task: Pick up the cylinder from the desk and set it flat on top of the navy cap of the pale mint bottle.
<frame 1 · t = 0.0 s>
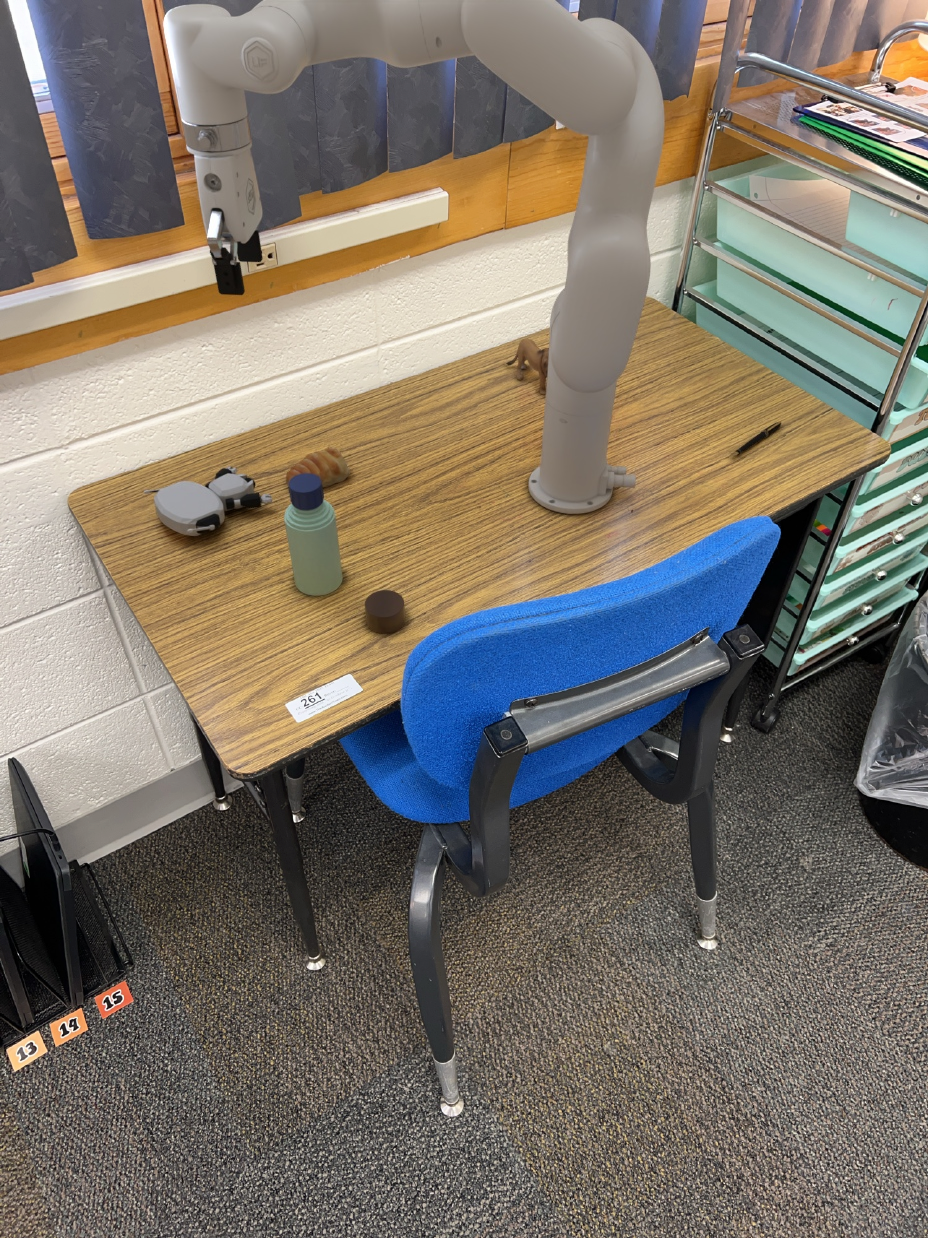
hand: (241, 276, 118), 31 cm above the table, tool pointing down, fingers open, 9 cm apart
cylinder: (385, 620, 118), on the table
bottle: (318, 579, 123), on the table
lion figurine: (539, 383, 160), on the table
robot toy: (213, 514, 133), on the table
fountain pen: (755, 443, 147), on the table
cap: (305, 485, 112), point 16 cm above the table, screwed on, not yet turned
pastry: (320, 478, 140), on the table
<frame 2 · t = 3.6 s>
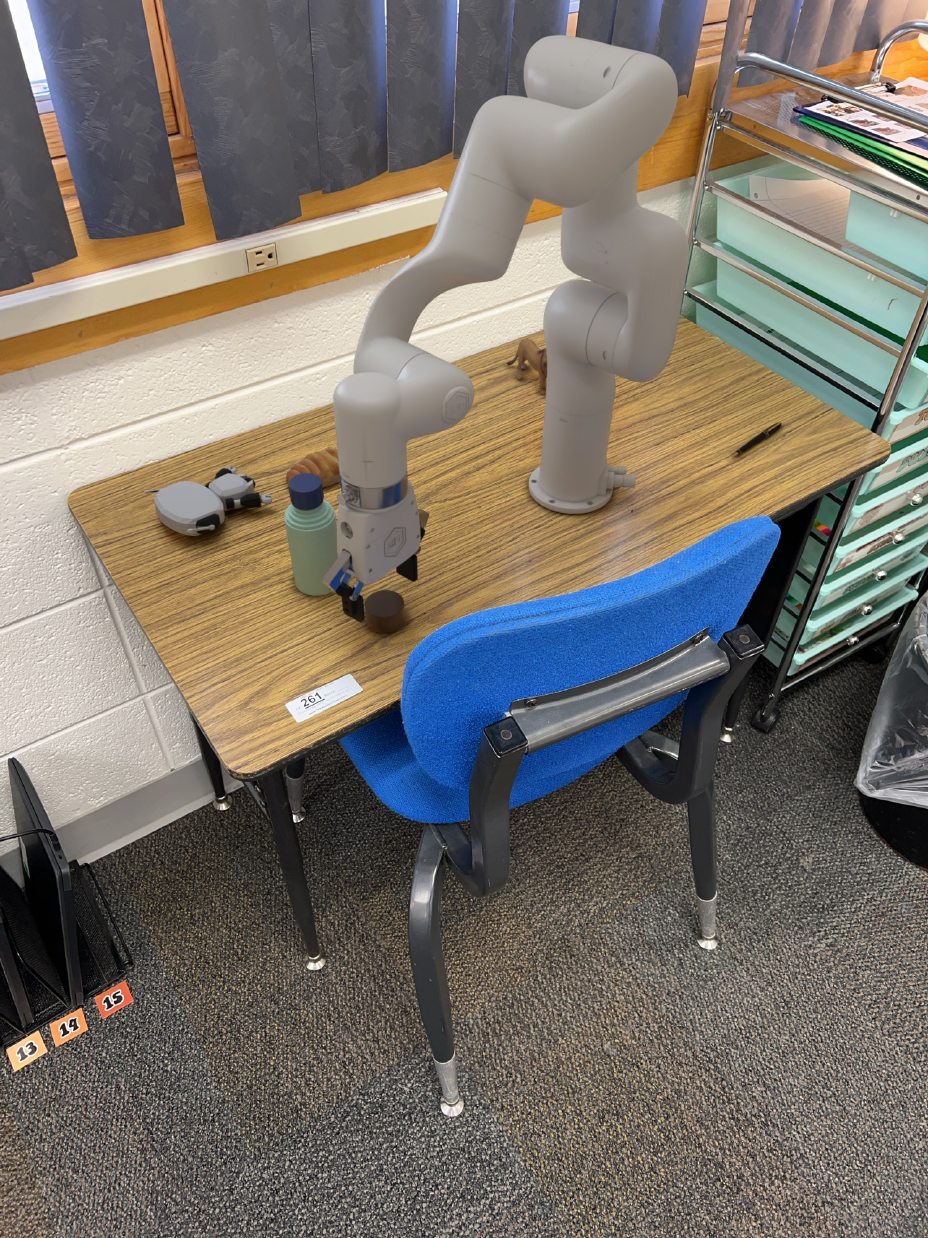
hand: (381, 596, 114), 5 cm above the table, tool pointing down, fingers open, 9 cm apart
nothing on the table moved.
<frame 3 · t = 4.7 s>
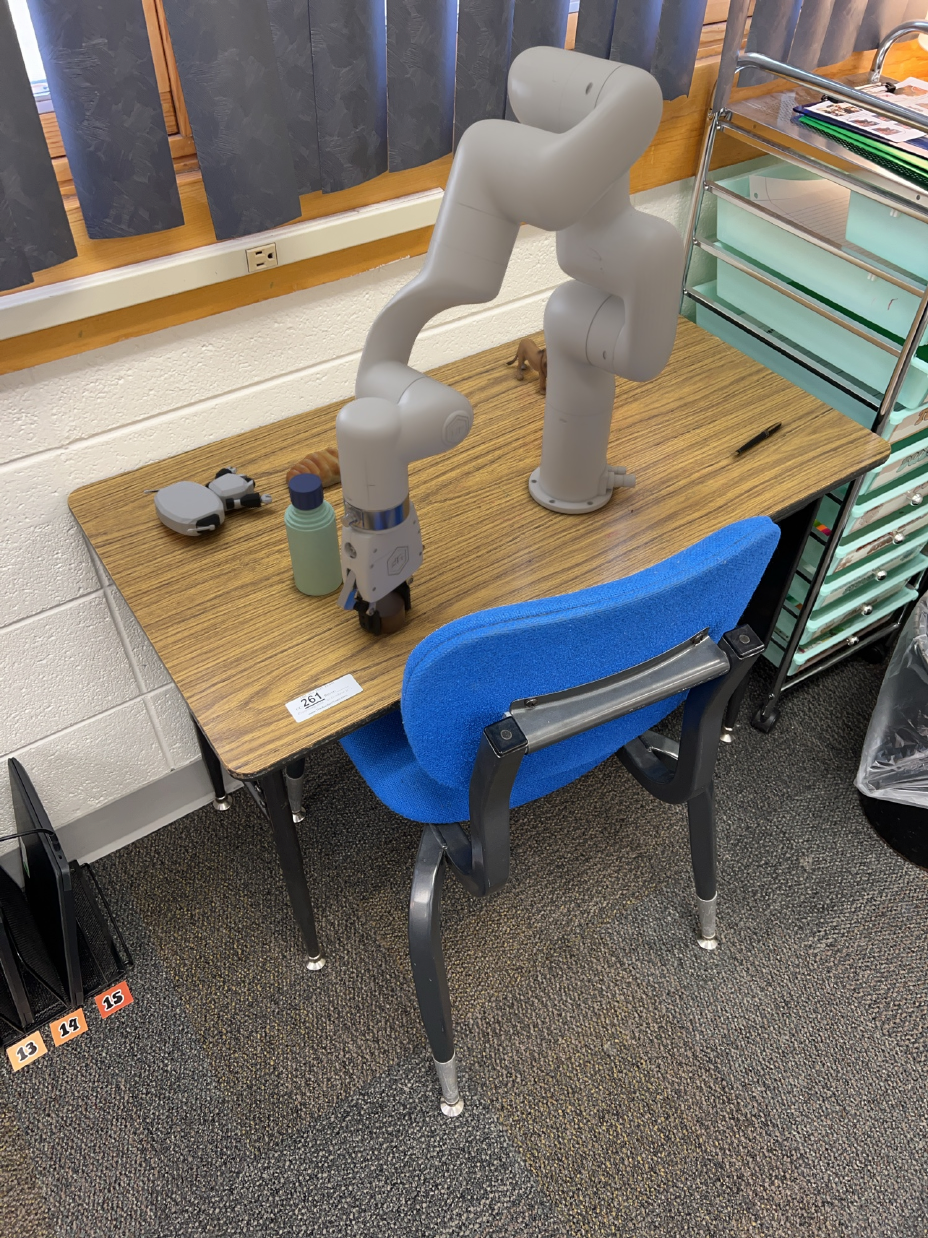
hand: (385, 616, 117), 1 cm above the table, tool pointing down, fingers closed on cylinder, 5 cm apart
cylinder: (385, 620, 118), on the table, touching gripper
everything else where it was.
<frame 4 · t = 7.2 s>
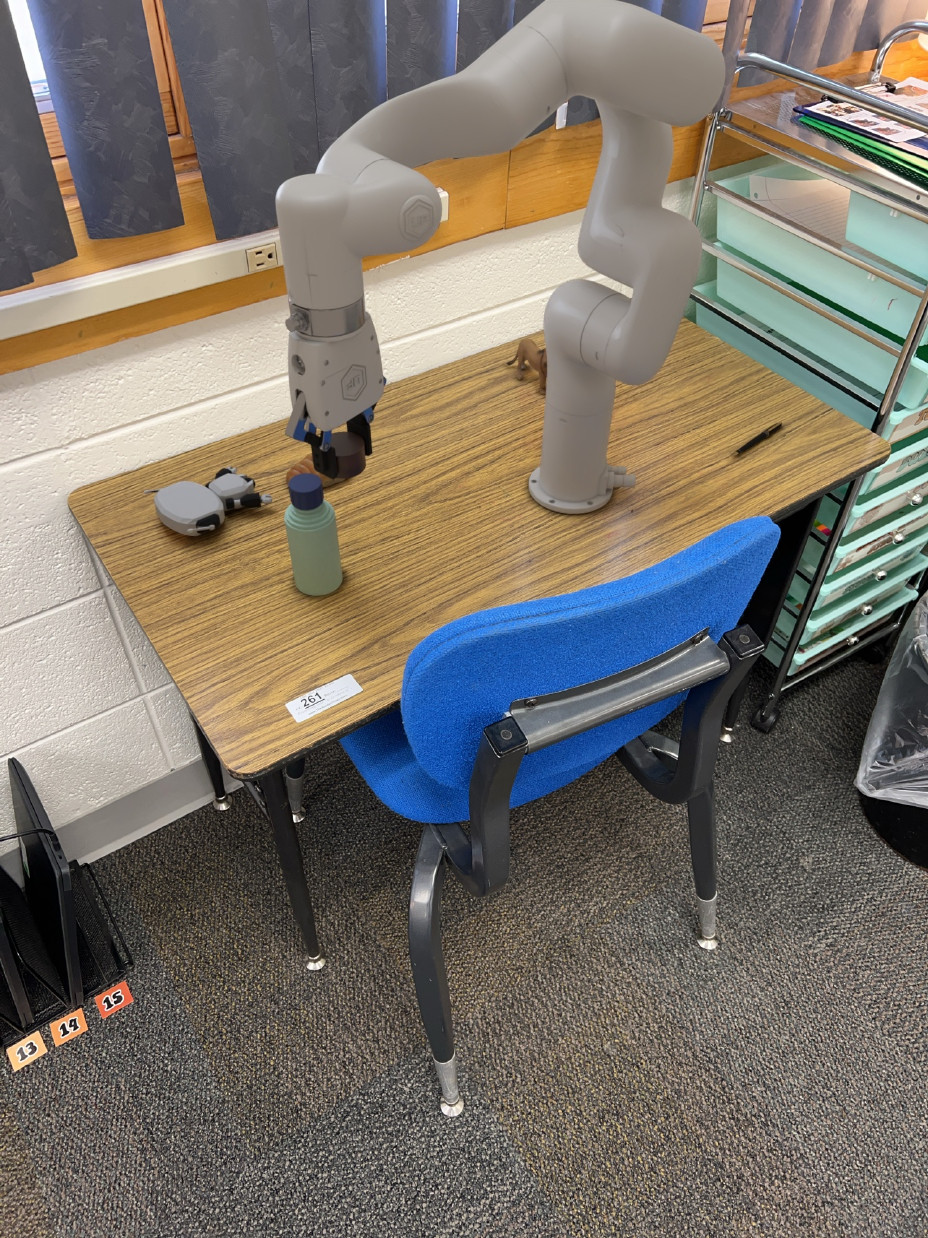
hand: (343, 461, 104), 22 cm above the table, tool pointing down, fingers closed on cylinder, 5 cm apart
cylinder: (344, 465, 105), point 22 cm above the table, touching gripper
everything else where it was.
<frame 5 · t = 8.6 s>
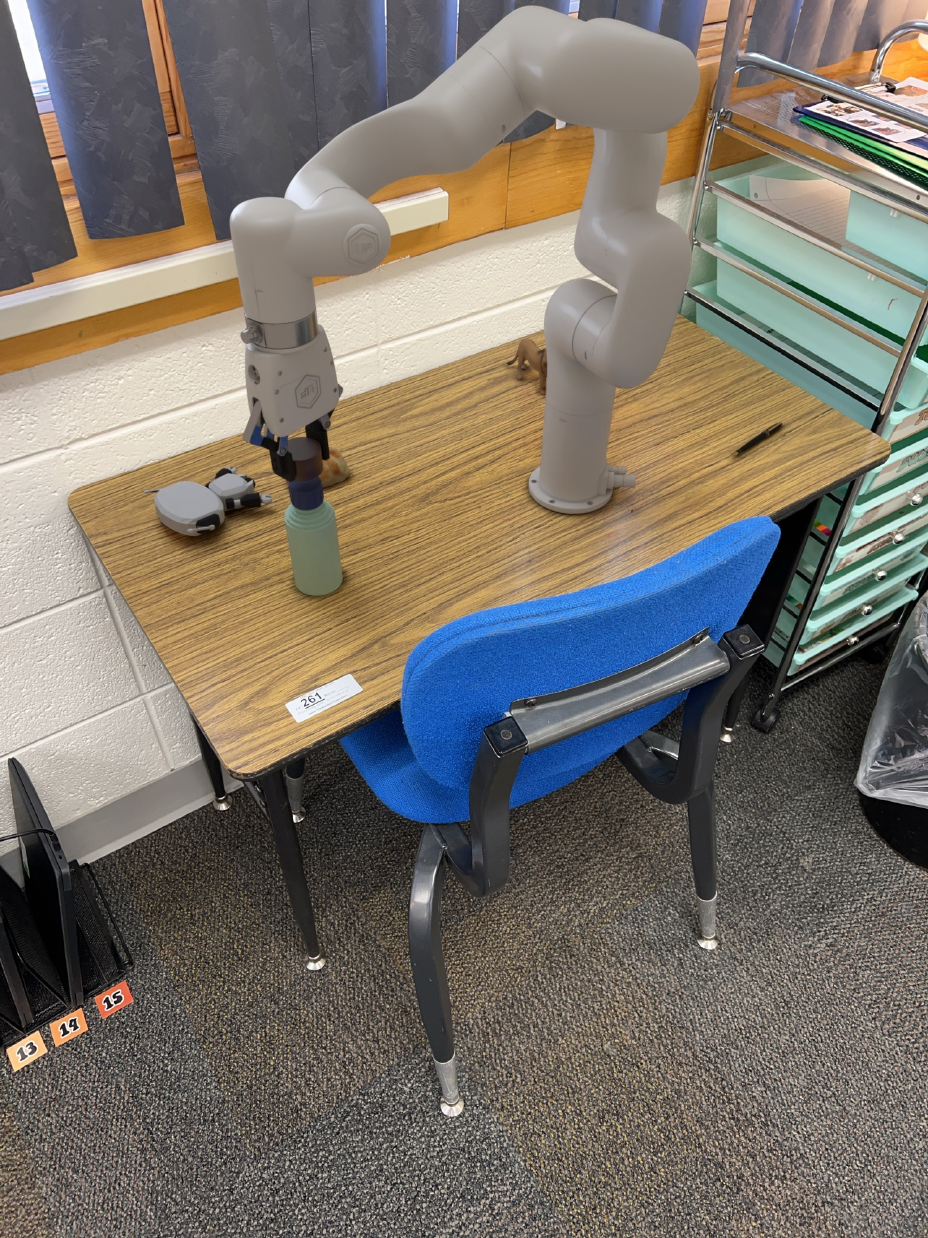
hand: (302, 464, 110), 19 cm above the table, tool pointing down, fingers closed on cylinder, 5 cm apart
cylinder: (302, 469, 111), point 18 cm above the table, touching gripper
everything else where it was.
when the fingers open (17 cm above the table, at t = 9.7 s): cylinder stays where it is, resting on cap.
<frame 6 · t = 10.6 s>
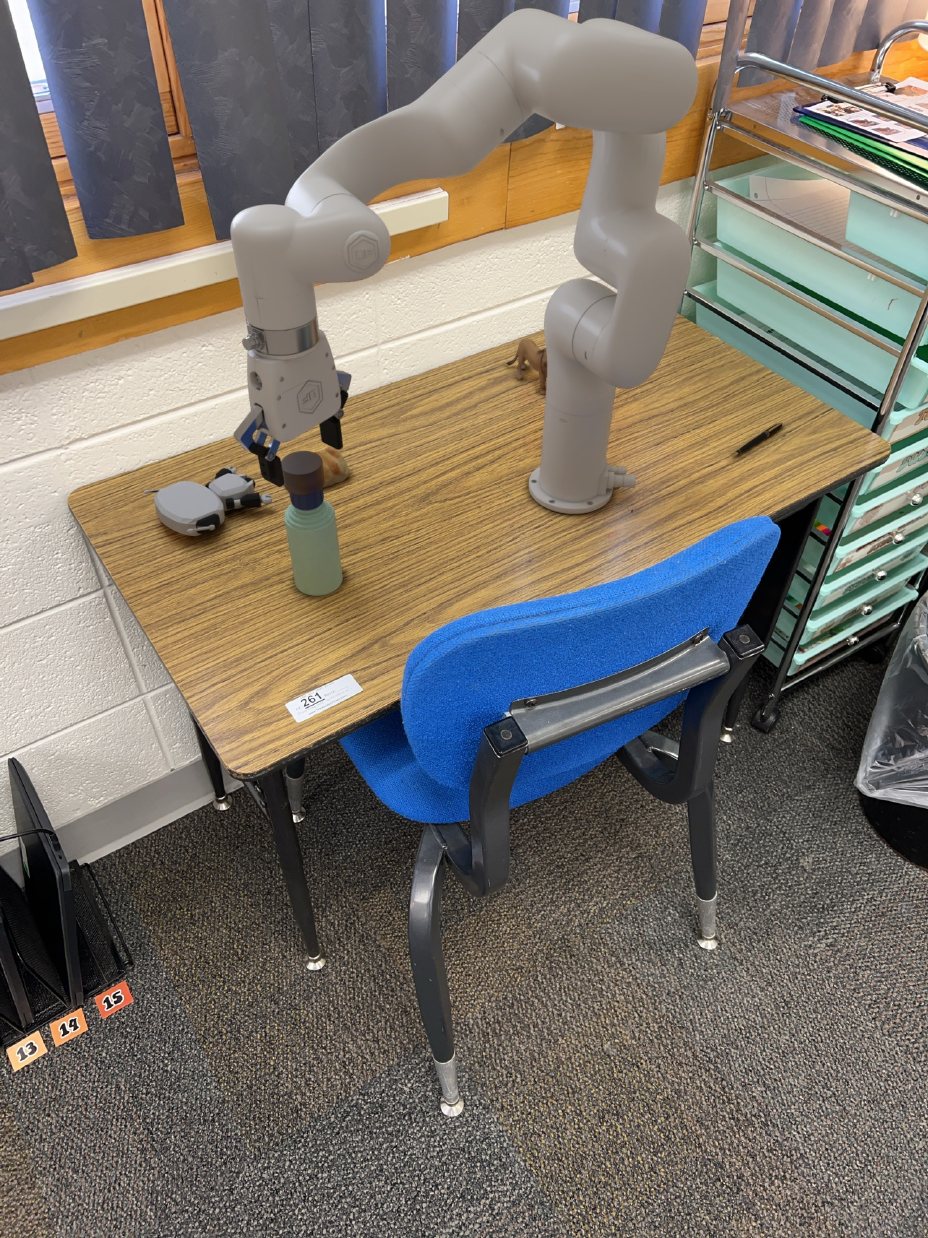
hand: (303, 463, 110), 19 cm above the table, tool pointing down, fingers open, 9 cm apart
cylinder: (304, 482, 112), point 16 cm above the table, touching cap
cap: (305, 485, 112), point 16 cm above the table, screwed on, not yet turned, touching cylinder
everything else where it was.
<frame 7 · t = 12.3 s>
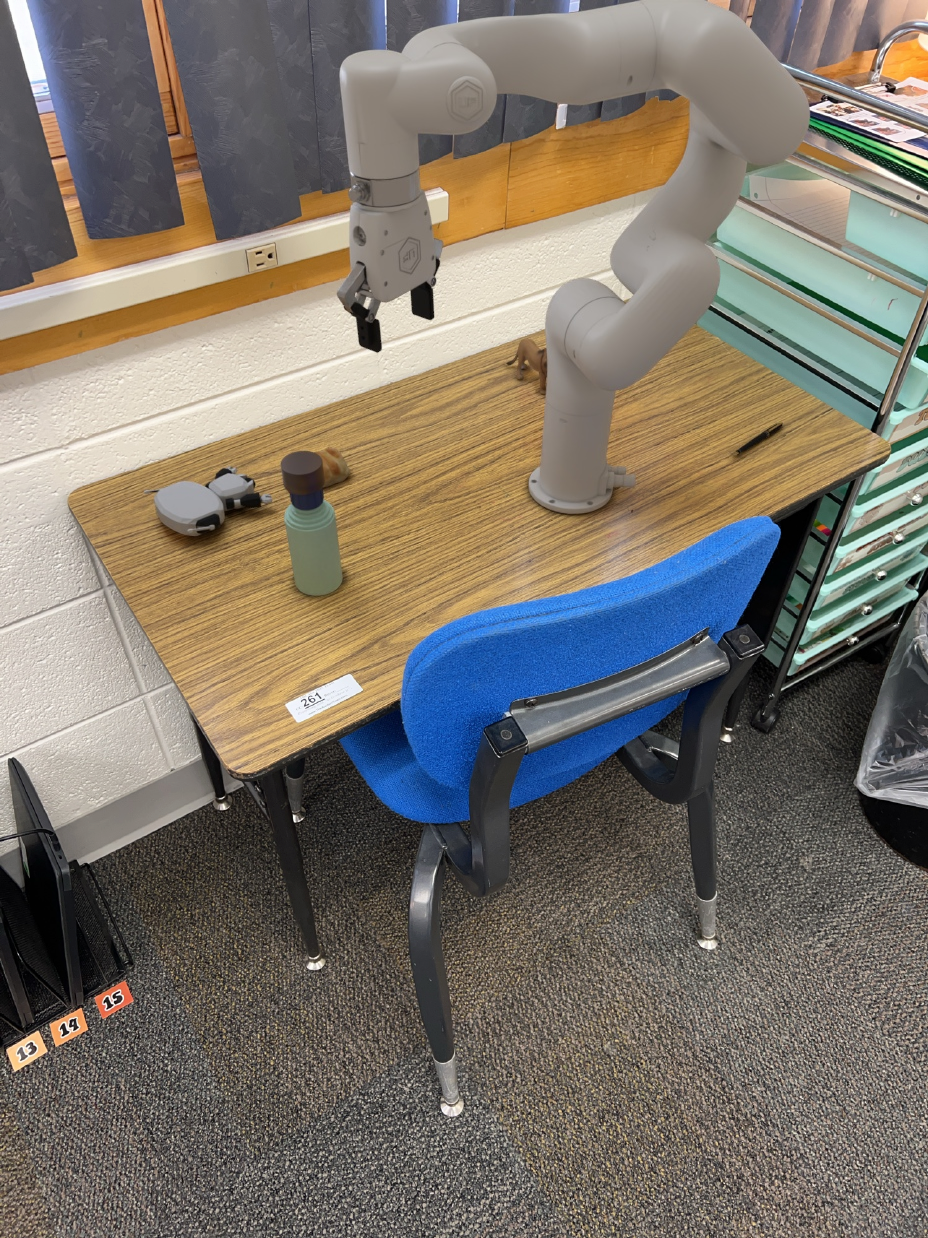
hand: (397, 332, 111), 30 cm above the table, tool pointing down, fingers open, 9 cm apart
nothing on the table moved.
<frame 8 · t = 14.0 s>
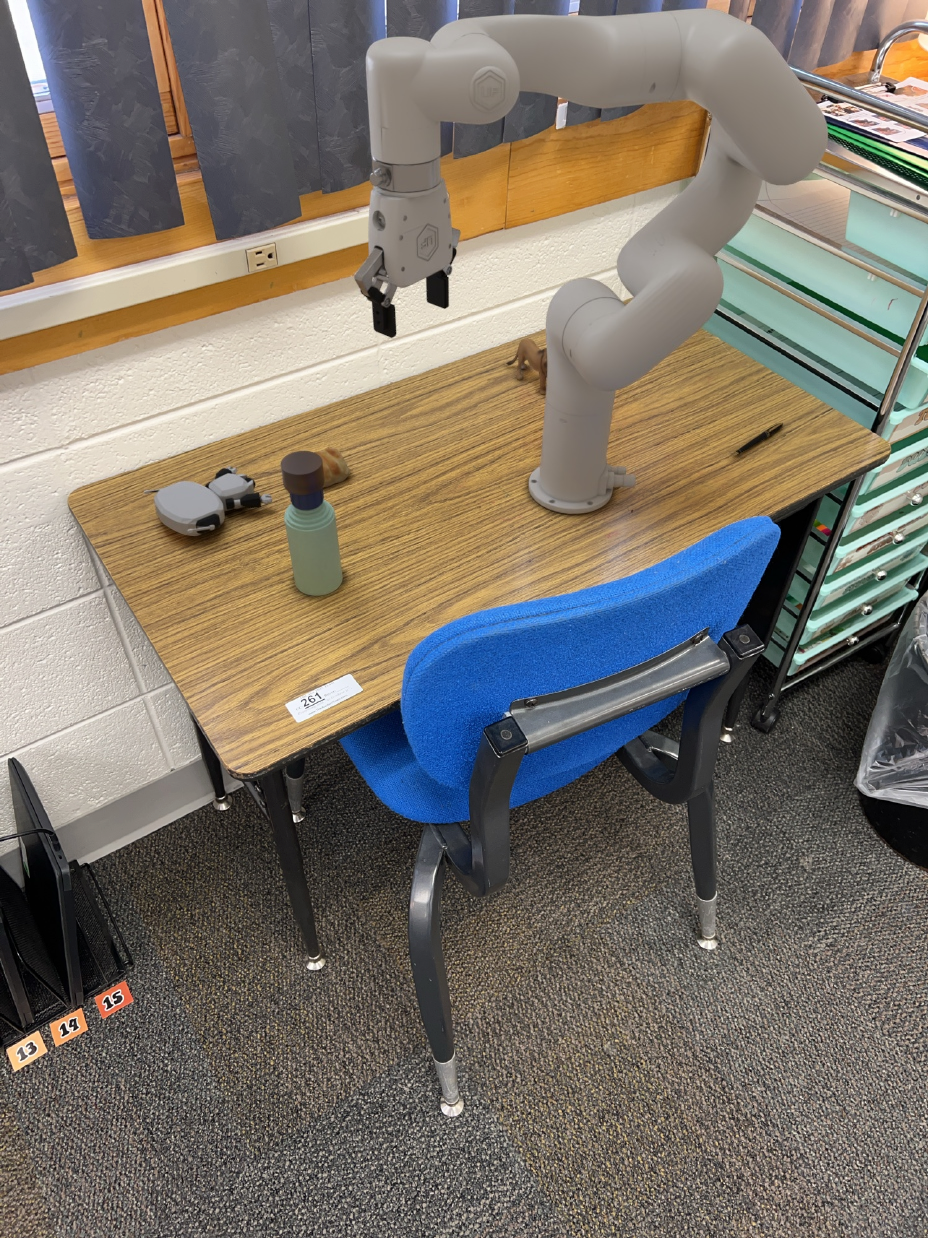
hand: (412, 318, 112), 30 cm above the table, tool pointing down, fingers open, 9 cm apart
nothing on the table moved.
at the end: cylinder 0.1 cm off-centre on the bottle, point 16.0 cm above the bottle's base; cylinder tilted 0°; the gripper is holding nothing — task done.
